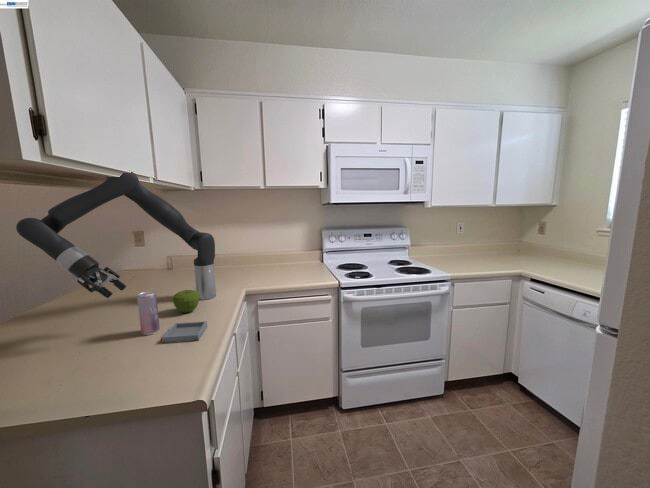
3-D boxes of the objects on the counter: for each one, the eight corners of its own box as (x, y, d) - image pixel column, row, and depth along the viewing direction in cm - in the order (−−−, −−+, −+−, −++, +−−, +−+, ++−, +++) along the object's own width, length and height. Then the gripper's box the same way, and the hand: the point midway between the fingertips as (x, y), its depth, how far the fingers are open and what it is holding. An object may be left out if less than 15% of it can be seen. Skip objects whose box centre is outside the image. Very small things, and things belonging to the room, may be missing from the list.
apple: (173, 318, 117) (171, 295, 116) (174, 309, 127) (172, 288, 125) (201, 313, 122) (199, 291, 121) (200, 305, 131) (199, 285, 130)
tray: (175, 328, 108) (175, 323, 107) (207, 326, 109) (206, 321, 109) (162, 343, 96) (162, 337, 96) (198, 340, 98) (197, 334, 98)
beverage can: (151, 327, 109) (147, 290, 106) (163, 329, 107) (159, 291, 105) (137, 334, 103) (132, 295, 101) (149, 336, 101) (145, 296, 99)
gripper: (70, 258, 91) (112, 290, 94) (98, 251, 105) (135, 279, 108) (54, 275, 91) (97, 306, 94) (85, 265, 105) (121, 293, 108)
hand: (117, 292), depth 101 cm, fingers open, 8 cm apart
